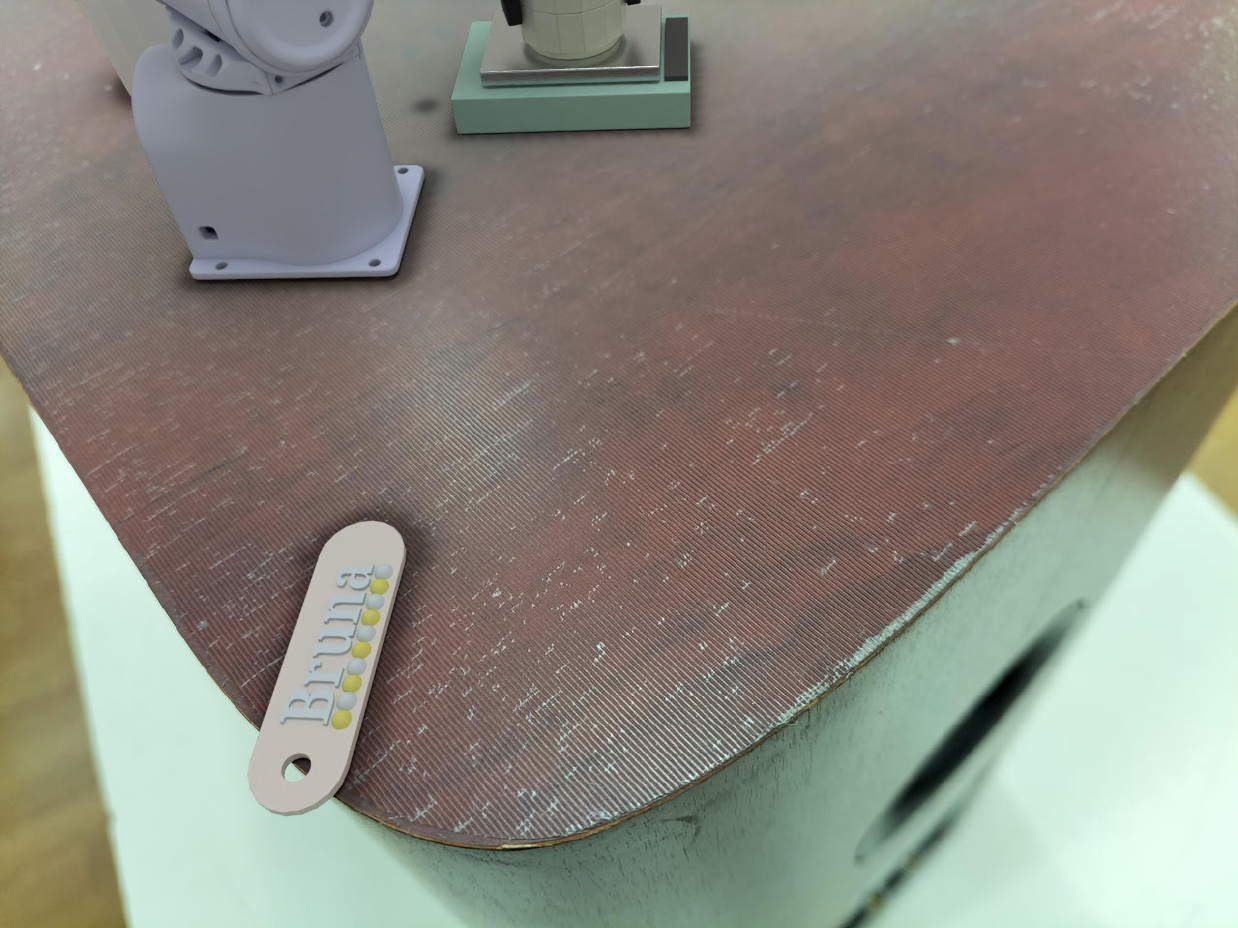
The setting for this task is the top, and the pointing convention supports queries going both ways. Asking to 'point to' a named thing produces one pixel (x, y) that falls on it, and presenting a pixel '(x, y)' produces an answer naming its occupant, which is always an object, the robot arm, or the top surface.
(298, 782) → the keychain
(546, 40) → the green faceted cup
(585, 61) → the pan
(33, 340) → the top surface
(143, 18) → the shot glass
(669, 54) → the scale
